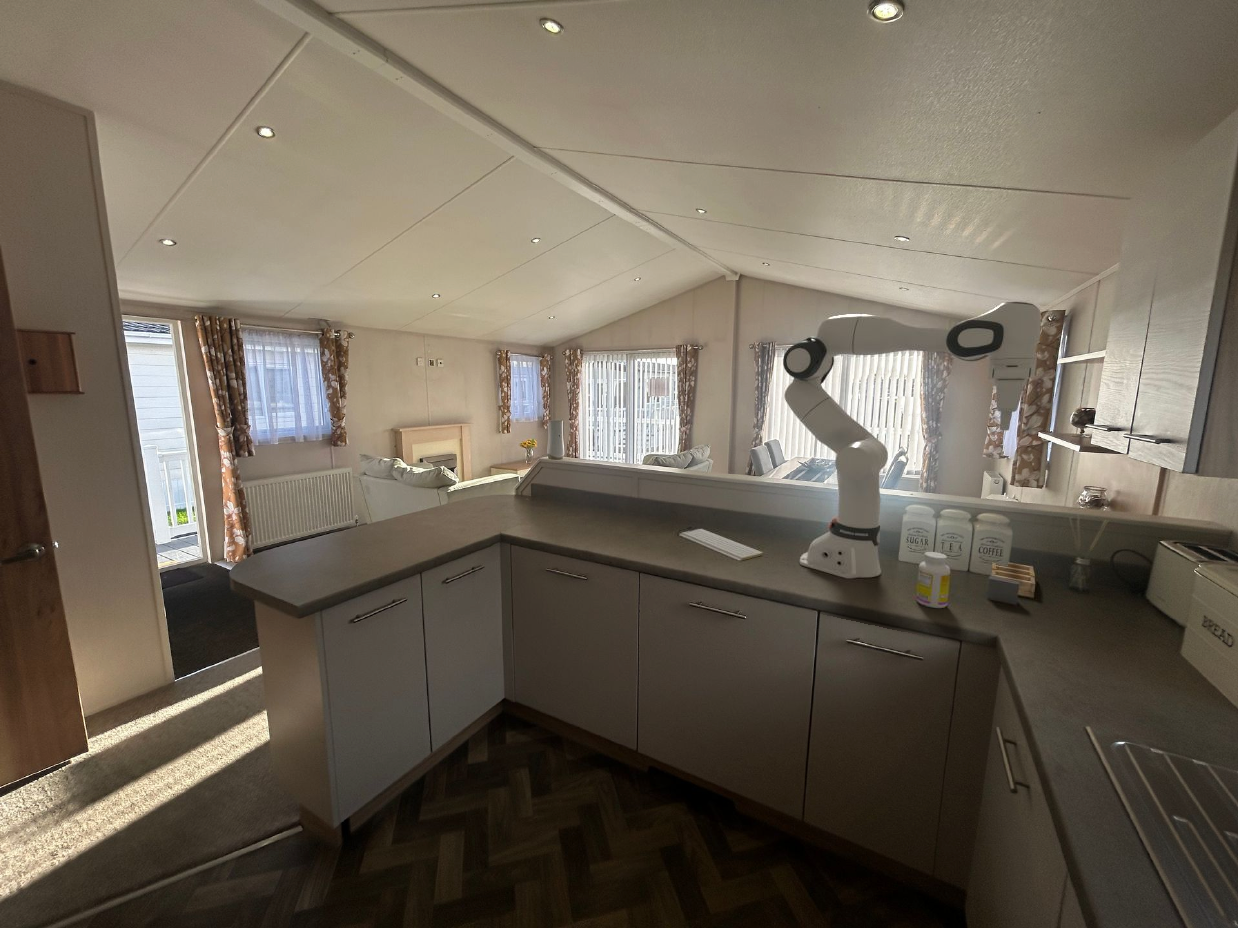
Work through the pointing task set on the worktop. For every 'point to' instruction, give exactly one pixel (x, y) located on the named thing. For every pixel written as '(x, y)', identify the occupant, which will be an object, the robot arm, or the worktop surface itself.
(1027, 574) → the box
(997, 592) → the panel
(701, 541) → the white keyboard
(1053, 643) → the worktop surface
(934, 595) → the supplement bottle
